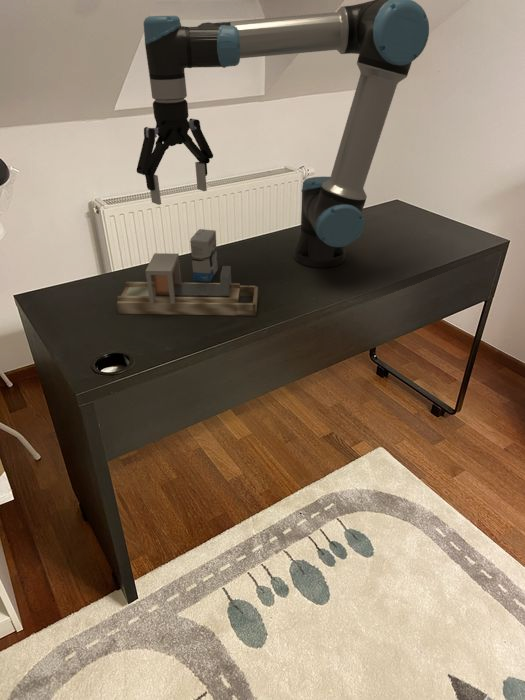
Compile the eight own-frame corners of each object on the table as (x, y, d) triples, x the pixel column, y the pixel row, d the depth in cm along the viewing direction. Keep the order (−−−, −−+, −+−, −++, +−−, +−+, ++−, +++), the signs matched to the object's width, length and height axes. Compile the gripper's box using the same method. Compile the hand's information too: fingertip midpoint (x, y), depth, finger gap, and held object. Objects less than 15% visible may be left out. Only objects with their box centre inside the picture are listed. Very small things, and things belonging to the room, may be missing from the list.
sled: (231, 287, 132) (230, 266, 128) (229, 299, 127) (228, 276, 123) (160, 286, 132) (157, 265, 129) (155, 298, 127) (152, 275, 124)
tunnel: (181, 284, 134) (178, 253, 129) (174, 303, 126) (171, 271, 121) (158, 284, 134) (154, 253, 129) (149, 303, 126) (145, 270, 121)
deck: (257, 296, 135) (257, 282, 133) (256, 315, 127) (255, 301, 124) (129, 294, 136) (126, 280, 134) (118, 313, 128) (116, 298, 126)
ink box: (210, 282, 142) (207, 241, 135) (192, 281, 142) (189, 240, 136) (218, 269, 148) (216, 229, 142) (202, 268, 149) (199, 228, 143)
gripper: (203, 91, 124) (210, 182, 135) (110, 105, 109) (126, 205, 121) (224, 94, 119) (229, 187, 131) (130, 109, 105) (145, 213, 117)
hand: (180, 196), depth 126 cm, fingers open, 13 cm apart
